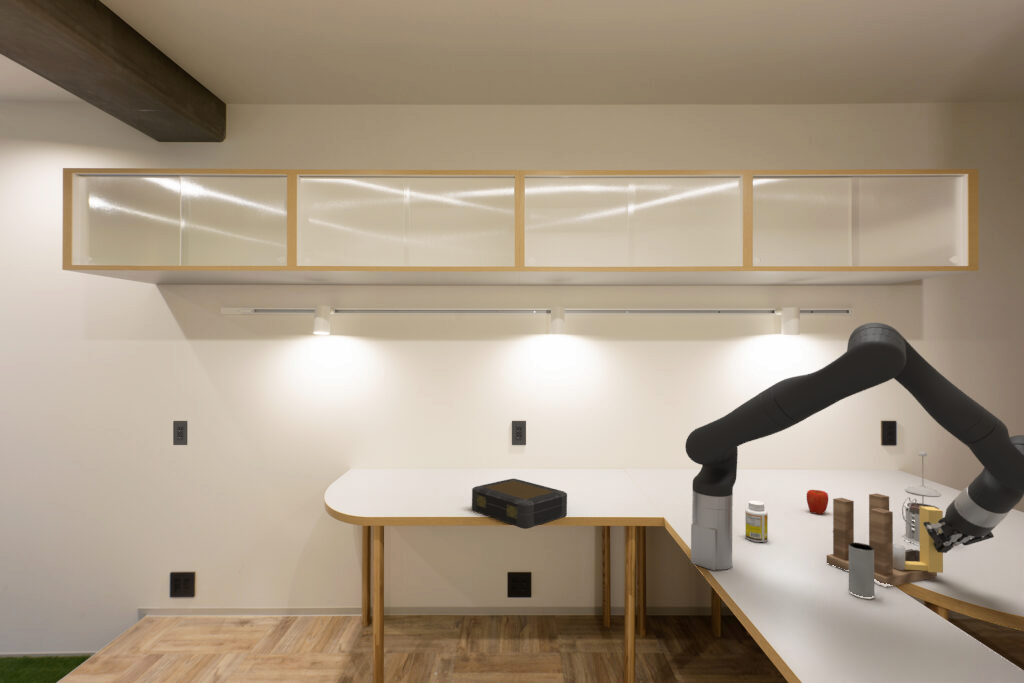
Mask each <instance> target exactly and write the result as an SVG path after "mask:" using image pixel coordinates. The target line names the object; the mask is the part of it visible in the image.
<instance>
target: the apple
mask: <svg viewBox="0 0 1024 683" xmlns="http://www.w3.org/2000/svg"><path fill="white" fill-rule="evenodd" d="M806 503H807V507H808V510H809V511H810V512H811V513H812V514H819V515H820V514H821V515H822V514H824V513H825V512H826V510H827V509H828V504H829V493H827V492H826V491H824V490H820V489H817V490H816V489H809V490H807V491H806Z"/></svg>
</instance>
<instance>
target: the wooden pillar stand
mask: <svg viewBox="0 0 1024 683" xmlns="http://www.w3.org/2000/svg"><path fill="white" fill-rule="evenodd" d="M832 500H833V502H832V503H833V506H832V508H833V510H832V511H833V512H832V513H833V514H832V516H833V517H832V518H833V522H832V523H833V524H832V526H833V528H832V529H833V530H832V532H833V533H832V539H833V540H832V541H833V545H832V546H833V547H832V553H831V554H826V564H827V563H829V564H831V565H830V566H832V565H834V566H836V567H835V568H837V567H840V568H842V569H845V570H849V543H853V542H855V540H854V539H855V534H854V532H855V530H854V529H855V528H854V527H855V524H854V522H855V521H854V518H855V517H854V516H855V514H854V513H855V512H854V511H855V510H854V505H855V503H854V500H852V499H847V498H844V497H838V498H837V497H836V498H833V499H832ZM893 514H894V513H893V511H891V510H890V496H889V495H885V494H881V493H870V494H868V535H869V536H868V545H870V546H872V547H873V548H874V579H876V580H877V581H879V582H880V583H884V584H886V583H887V584H890V585H893V586H892V587H894V586H899V585H904V584H908V583H913V582H918V581H922V580H927V579H930V578H931V579H932V578H935V577H938V572H928V571H924V570H898V569H895V568H893V543H894V540H893V538H894V530H893V529H894V526H893V525H894V522H893V519H894V517H893V516H894V515H893ZM905 561H913V562H920V549H912V548H911V549H905ZM829 564H828V565H829ZM834 566H833V567H834Z"/></svg>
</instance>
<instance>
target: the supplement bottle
mask: <svg viewBox="0 0 1024 683" xmlns="http://www.w3.org/2000/svg"><path fill="white" fill-rule="evenodd" d="M765 508H766V507H765V503H764V502H762V501H759V500H749V501H748V507H746V509H745V512H744V513H745V538H746V539H747V540H748V541H750V540H751V541H750V542H753V541H755V542H754V543H759V542H763V543H766V542H767V541H768V536H769V535H768V534H769V533H768V529H769V528H768V522H769V521H768V520H769V519H768V511H767V510H766V509H765Z"/></svg>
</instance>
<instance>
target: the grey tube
mask: <svg viewBox="0 0 1024 683" xmlns="http://www.w3.org/2000/svg"><path fill="white" fill-rule="evenodd" d="M849 591H850V592H852V593H853V594H856V595H859V596H863V597H872V596H874V597H875V583H874V548H873V547H872V546H870V545H869V544H867V543H863V542H855V541H854V542H853V543H849V572H848V592H849Z"/></svg>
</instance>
